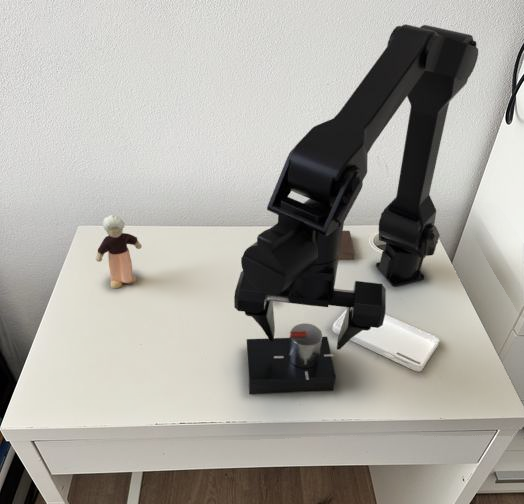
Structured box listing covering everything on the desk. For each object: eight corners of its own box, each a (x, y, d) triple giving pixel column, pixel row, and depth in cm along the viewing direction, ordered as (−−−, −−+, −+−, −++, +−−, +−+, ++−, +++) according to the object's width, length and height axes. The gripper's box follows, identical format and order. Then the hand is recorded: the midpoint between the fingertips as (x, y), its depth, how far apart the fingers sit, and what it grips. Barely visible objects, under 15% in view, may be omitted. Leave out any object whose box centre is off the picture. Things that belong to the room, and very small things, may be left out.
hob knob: (316, 345, 78) (320, 321, 75) (321, 367, 75) (324, 343, 72) (286, 346, 78) (288, 322, 74) (290, 368, 75) (292, 344, 71)
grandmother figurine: (111, 295, 89) (96, 230, 80) (100, 284, 91) (83, 219, 82) (150, 276, 93) (140, 212, 84) (138, 266, 95) (127, 202, 86)
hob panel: (326, 348, 82) (329, 334, 80) (335, 392, 76) (338, 377, 74) (246, 351, 81) (246, 336, 79) (249, 395, 75) (249, 381, 73)
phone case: (438, 344, 83) (353, 306, 89) (441, 338, 82) (354, 300, 88) (419, 373, 79) (330, 331, 84) (421, 367, 78) (331, 325, 83)
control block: (348, 238, 102) (351, 222, 100) (353, 260, 97) (356, 244, 95) (285, 237, 102) (286, 221, 99) (287, 259, 97) (288, 243, 95)
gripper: (394, 221, 68) (373, 312, 79) (249, 206, 69) (249, 298, 81) (395, 275, 60) (372, 368, 71) (232, 256, 62) (234, 350, 73)
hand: (305, 343), depth 74 cm, fingers open, 9 cm apart
